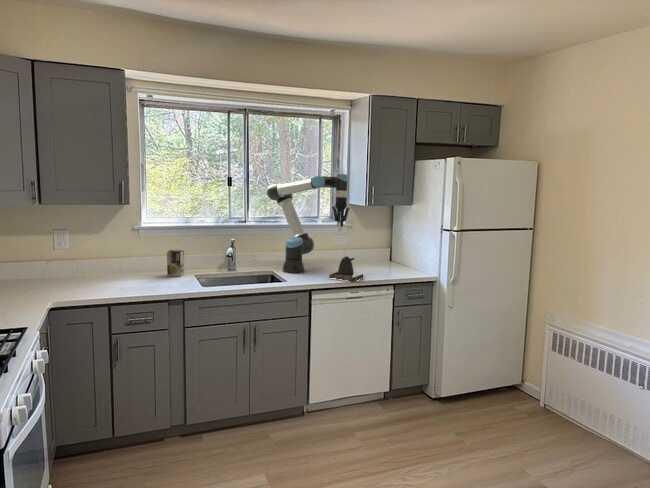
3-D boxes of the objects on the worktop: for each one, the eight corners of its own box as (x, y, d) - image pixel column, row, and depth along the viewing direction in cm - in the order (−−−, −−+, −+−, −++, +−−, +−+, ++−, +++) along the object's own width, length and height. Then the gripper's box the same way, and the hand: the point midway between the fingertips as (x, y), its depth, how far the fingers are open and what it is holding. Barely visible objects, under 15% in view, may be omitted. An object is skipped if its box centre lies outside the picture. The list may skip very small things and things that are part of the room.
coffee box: (184, 274, 311) (184, 250, 309) (180, 276, 304) (180, 251, 302) (171, 274, 312) (170, 249, 310) (166, 276, 305) (166, 251, 303)
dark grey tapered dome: (354, 281, 311) (355, 257, 309) (338, 280, 310) (339, 257, 308) (352, 277, 321) (353, 255, 319) (337, 277, 320) (337, 254, 318)
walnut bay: (329, 278, 315) (329, 274, 314) (338, 275, 327) (339, 271, 327) (354, 282, 306) (354, 277, 306) (363, 278, 319) (363, 274, 318)
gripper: (352, 197, 328) (350, 231, 331) (335, 196, 334) (334, 230, 337) (347, 197, 321) (346, 232, 325) (330, 196, 327) (329, 230, 331)
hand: (339, 231), depth 331 cm, fingers closed
